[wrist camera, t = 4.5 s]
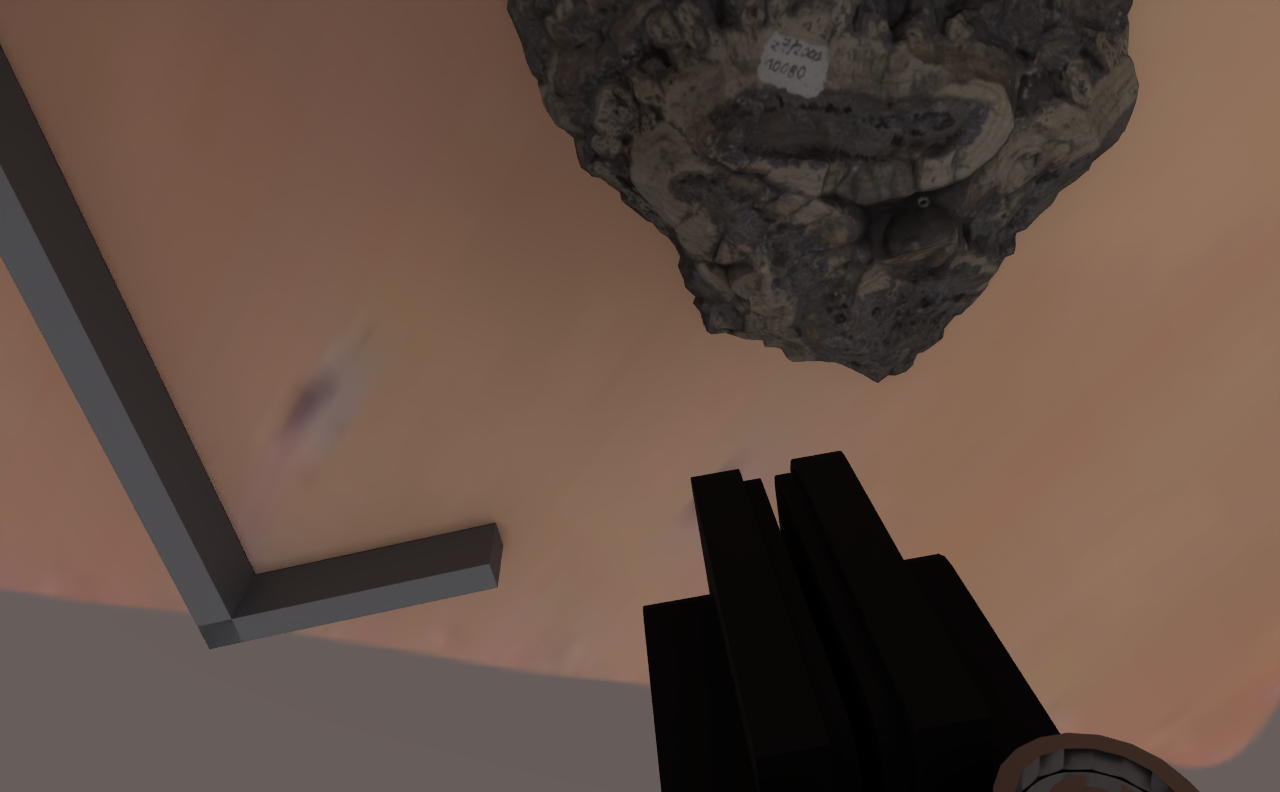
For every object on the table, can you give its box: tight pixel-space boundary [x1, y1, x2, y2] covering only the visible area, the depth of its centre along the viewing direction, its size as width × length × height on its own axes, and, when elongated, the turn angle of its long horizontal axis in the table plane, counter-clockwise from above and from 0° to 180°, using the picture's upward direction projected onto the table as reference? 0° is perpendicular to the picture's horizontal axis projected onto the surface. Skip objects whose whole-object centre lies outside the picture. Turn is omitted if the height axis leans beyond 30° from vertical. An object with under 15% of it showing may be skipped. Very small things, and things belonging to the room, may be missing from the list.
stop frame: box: [0, 47, 503, 649], centre depth 27 cm, size 23×10×2 cm, turn 12°
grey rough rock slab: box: [507, 0, 1139, 383], centre depth 26 cm, size 19×4×15 cm
